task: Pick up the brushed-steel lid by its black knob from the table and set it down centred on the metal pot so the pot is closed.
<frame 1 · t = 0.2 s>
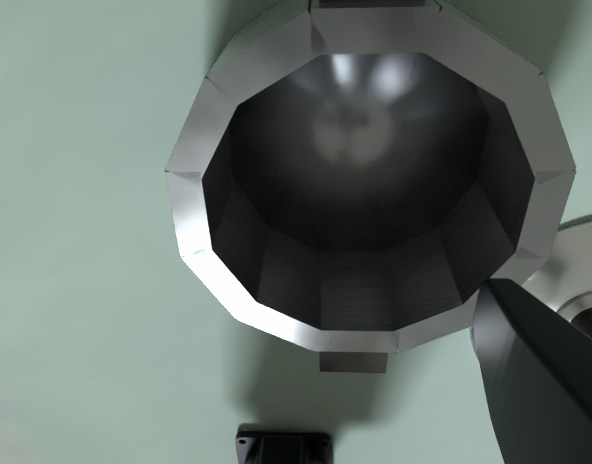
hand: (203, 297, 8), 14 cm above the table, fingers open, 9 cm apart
pot: (354, 144, 22), on the table
lid: (587, 311, 27), on the table
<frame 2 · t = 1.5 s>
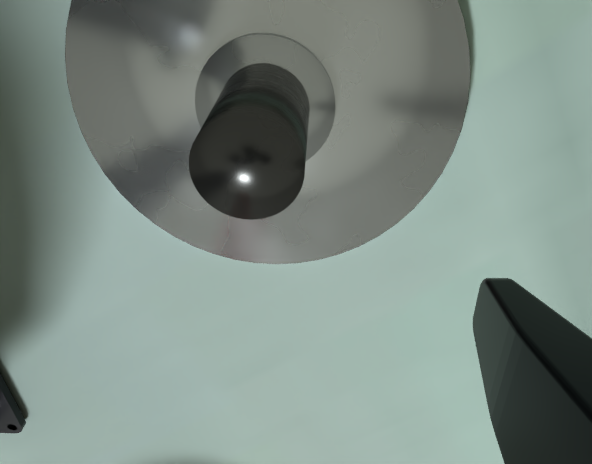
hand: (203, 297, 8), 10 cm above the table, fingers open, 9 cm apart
lid: (268, 97, 16), on the table
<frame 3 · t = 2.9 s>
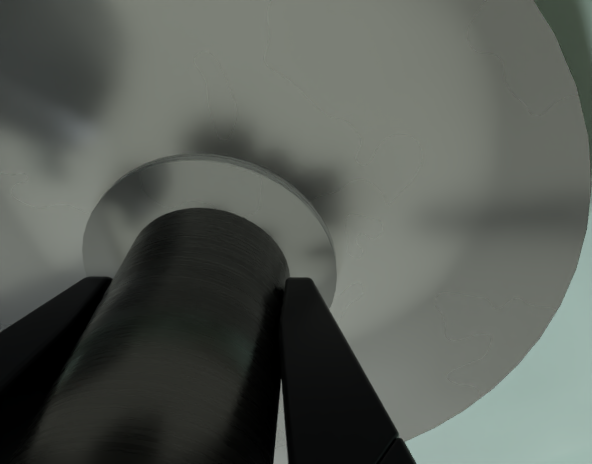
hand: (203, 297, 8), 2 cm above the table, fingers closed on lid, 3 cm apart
lid: (220, 241, 10), on the table, touching gripper
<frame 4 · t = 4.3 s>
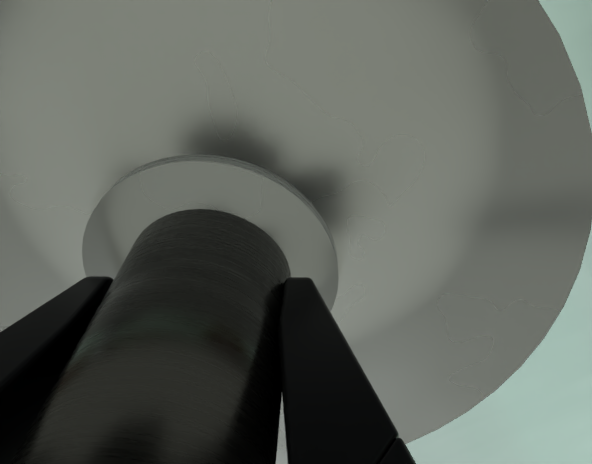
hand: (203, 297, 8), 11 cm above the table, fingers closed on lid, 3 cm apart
lid: (221, 242, 10), point 10 cm above the table, touching gripper
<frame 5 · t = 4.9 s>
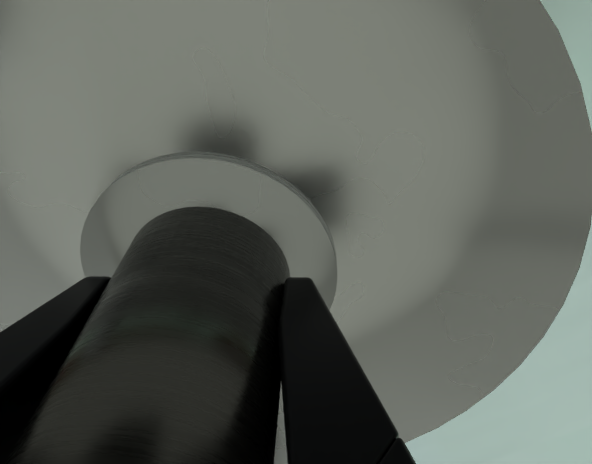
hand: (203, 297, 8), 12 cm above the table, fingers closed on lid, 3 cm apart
lid: (220, 240, 9), point 10 cm above the table, touching gripper
when the fingers open (9 cm above the table, at t = 5.6 s): lid drops 1 cm, resting on pot.
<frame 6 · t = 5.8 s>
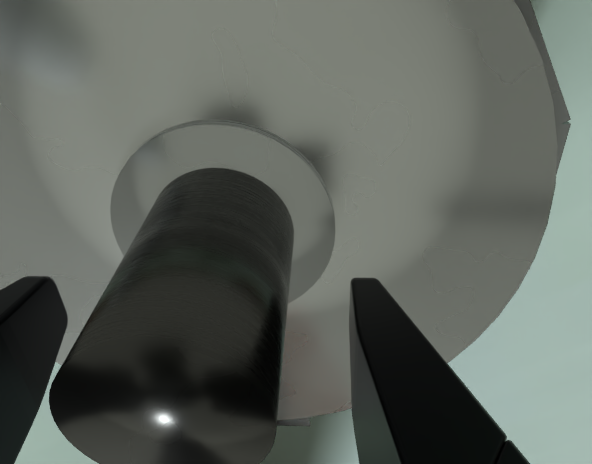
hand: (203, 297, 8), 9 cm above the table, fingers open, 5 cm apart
pot: (261, 108, 16), on the table
lid: (231, 204, 11), point 6 cm above the table, touching pot
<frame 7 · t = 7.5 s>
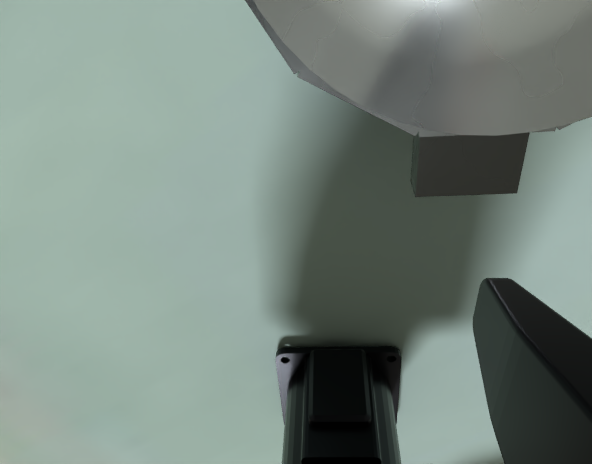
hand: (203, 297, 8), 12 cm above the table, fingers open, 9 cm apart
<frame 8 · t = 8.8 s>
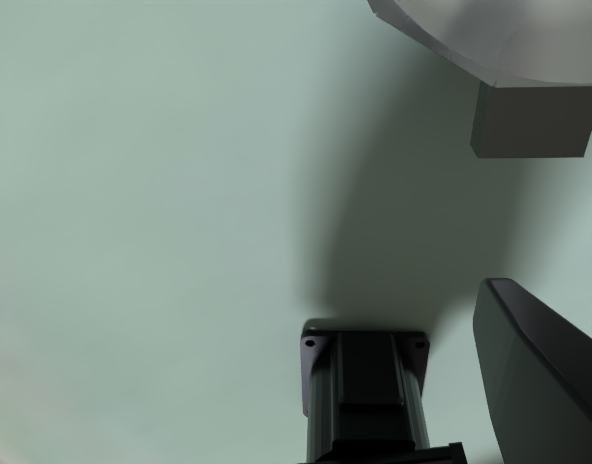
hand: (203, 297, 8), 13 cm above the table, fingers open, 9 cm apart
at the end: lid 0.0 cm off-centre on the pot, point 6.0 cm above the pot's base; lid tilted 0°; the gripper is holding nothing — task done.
